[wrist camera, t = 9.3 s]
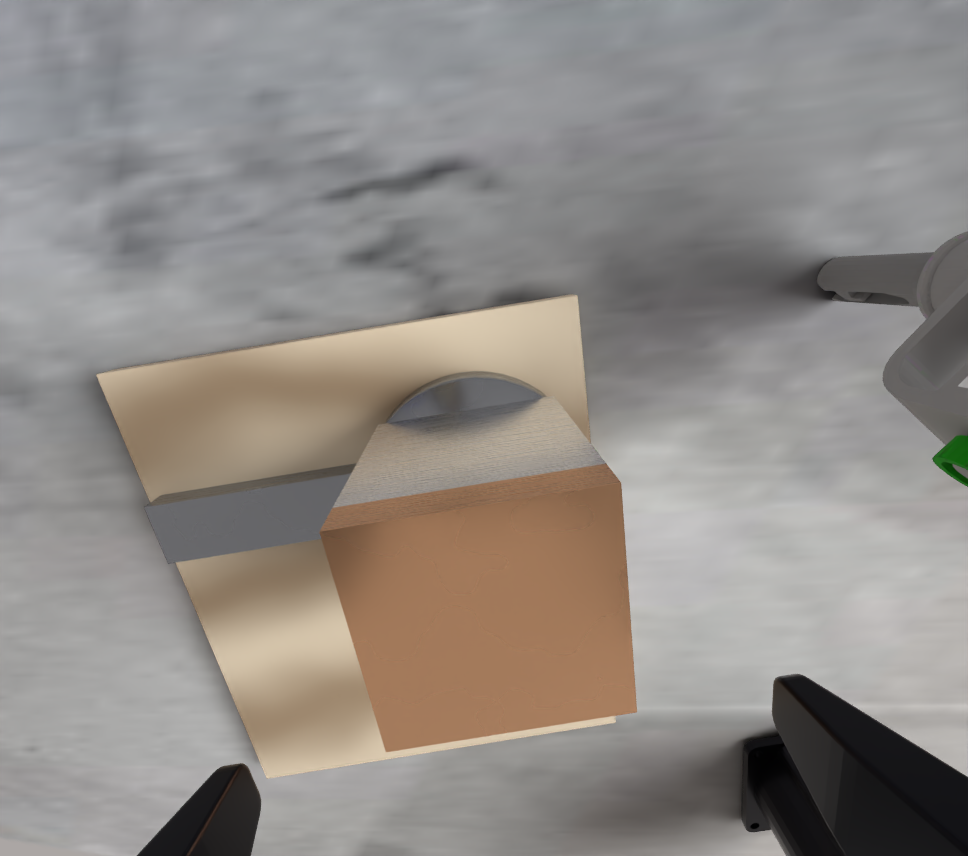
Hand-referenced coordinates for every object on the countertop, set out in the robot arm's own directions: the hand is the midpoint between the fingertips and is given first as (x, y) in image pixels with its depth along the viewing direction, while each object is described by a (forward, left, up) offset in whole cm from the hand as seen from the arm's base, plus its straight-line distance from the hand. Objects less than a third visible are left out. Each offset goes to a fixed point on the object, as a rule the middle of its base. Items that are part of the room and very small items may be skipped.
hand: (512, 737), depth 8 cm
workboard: (-4, +4, -12) cm, 13 cm away
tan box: (0, 0, -9) cm, 9 cm away
